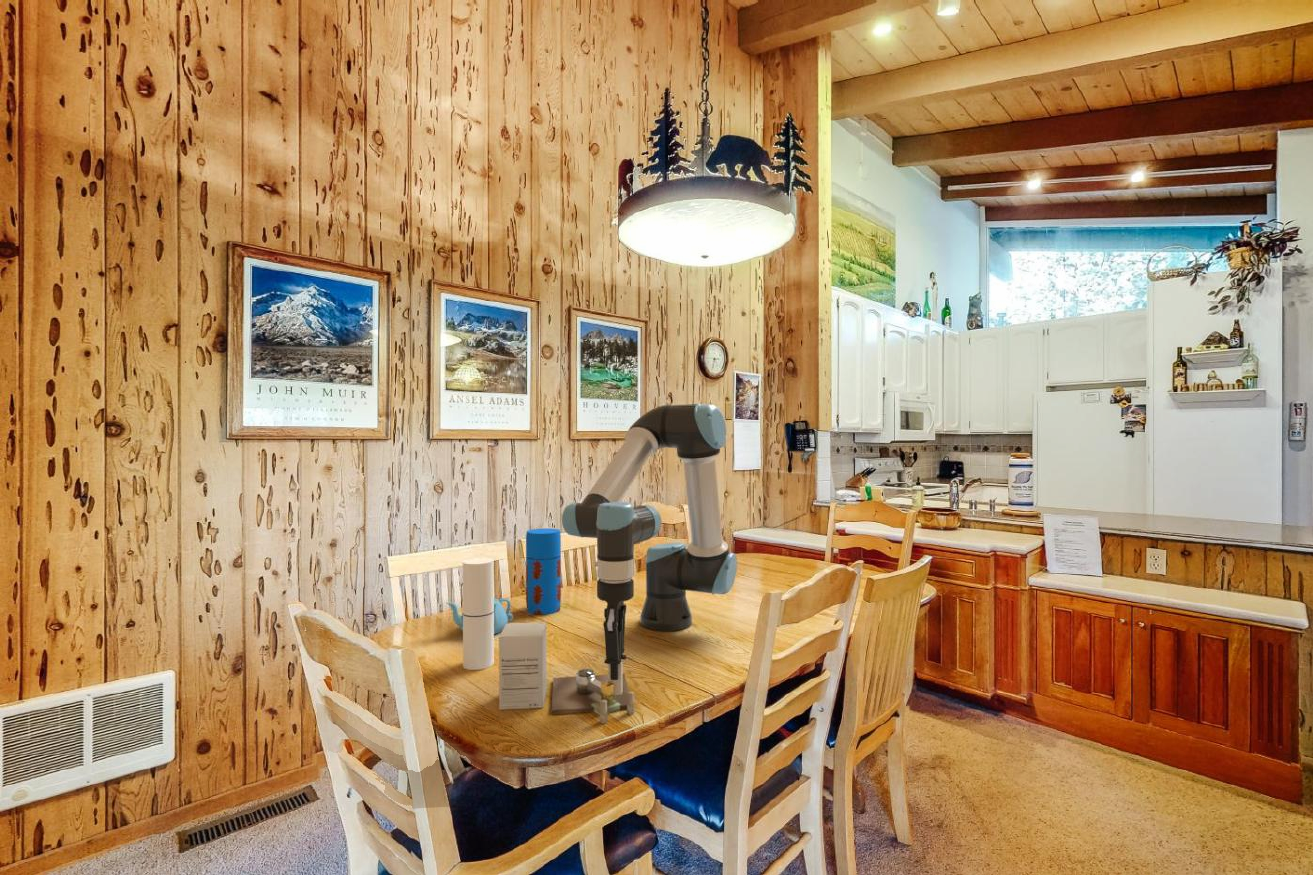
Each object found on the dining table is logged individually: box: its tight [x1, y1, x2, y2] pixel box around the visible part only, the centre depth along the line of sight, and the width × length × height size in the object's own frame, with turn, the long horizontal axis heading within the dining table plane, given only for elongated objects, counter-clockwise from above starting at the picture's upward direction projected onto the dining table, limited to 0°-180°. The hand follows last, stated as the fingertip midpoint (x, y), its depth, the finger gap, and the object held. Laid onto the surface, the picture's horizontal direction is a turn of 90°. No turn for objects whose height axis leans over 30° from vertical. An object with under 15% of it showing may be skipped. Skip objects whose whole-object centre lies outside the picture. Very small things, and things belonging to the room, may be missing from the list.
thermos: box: [525, 527, 562, 616], centre depth 189 cm, size 11×11×25 cm
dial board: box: [551, 673, 635, 725], centre depth 125 cm, size 16×21×4 cm
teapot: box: [445, 597, 514, 635], centre depth 169 cm, size 15×15×10 cm
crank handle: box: [575, 668, 614, 702], centre depth 125 cm, size 12×4×4 cm, turn 38°
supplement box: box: [498, 621, 548, 711], centre depth 125 cm, size 9×9×15 cm
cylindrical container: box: [462, 557, 495, 671], centre depth 145 cm, size 7×7×25 cm
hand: (615, 692), depth 123 cm, fingers closed
